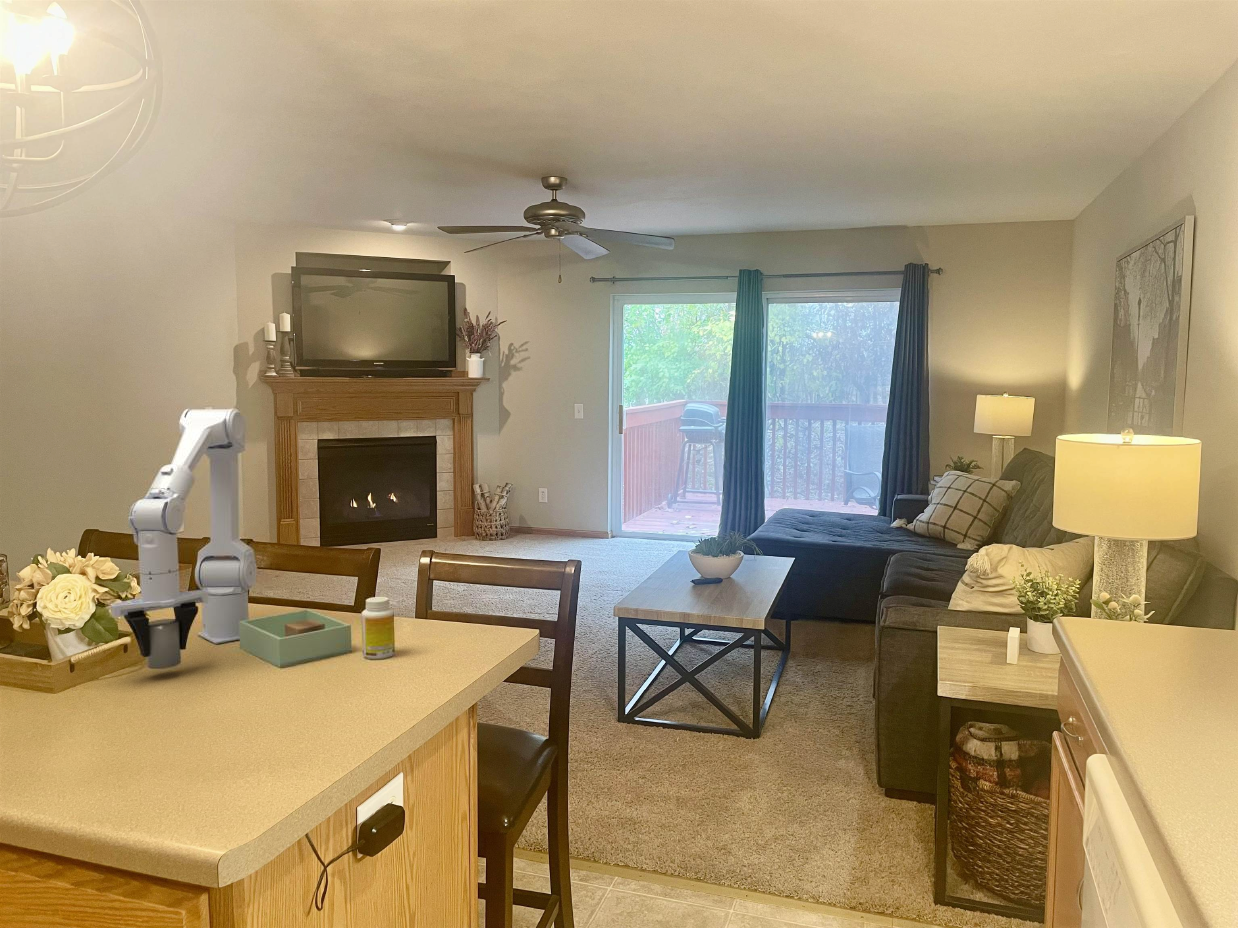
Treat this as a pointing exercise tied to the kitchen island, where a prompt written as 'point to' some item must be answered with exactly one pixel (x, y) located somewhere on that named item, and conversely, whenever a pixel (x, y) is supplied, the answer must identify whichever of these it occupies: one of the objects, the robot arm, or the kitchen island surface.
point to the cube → (303, 627)
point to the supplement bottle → (378, 629)
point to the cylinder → (164, 644)
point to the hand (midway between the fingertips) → (163, 651)
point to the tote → (294, 638)
